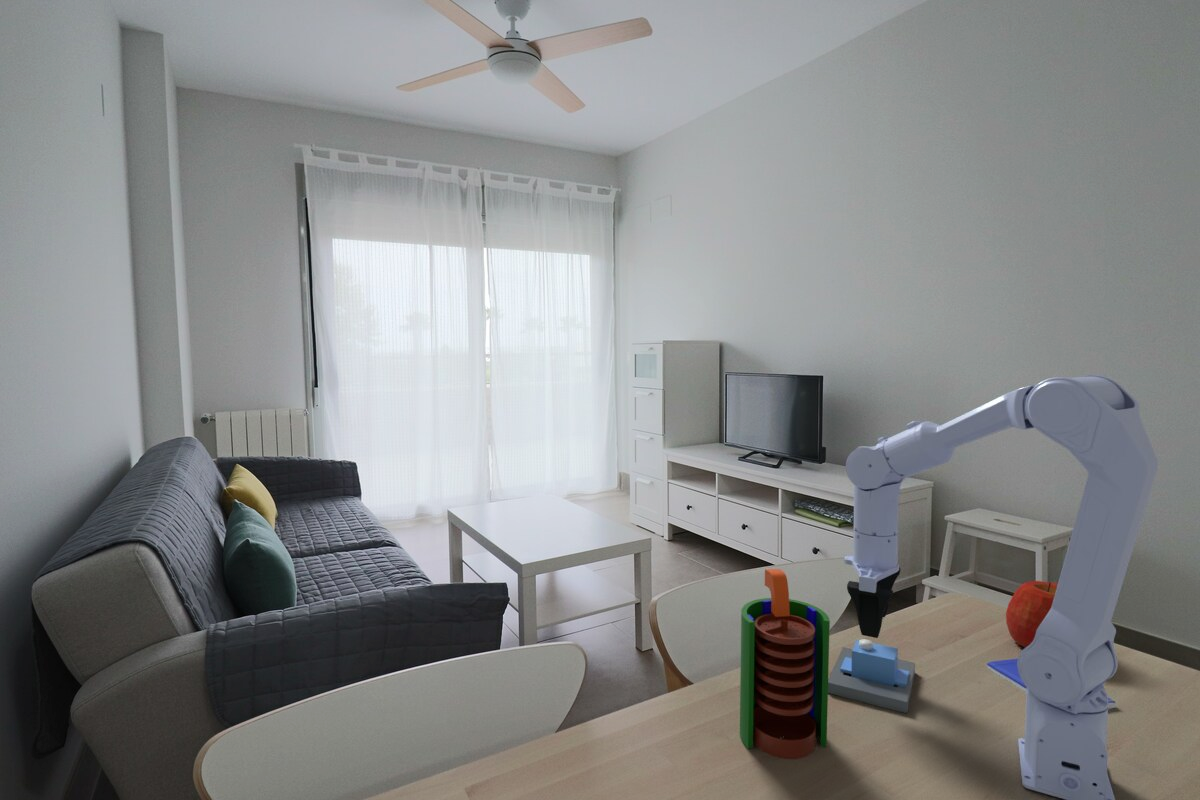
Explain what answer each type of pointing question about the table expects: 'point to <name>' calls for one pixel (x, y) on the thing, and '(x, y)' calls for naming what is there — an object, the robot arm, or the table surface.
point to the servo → (875, 664)
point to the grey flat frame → (871, 686)
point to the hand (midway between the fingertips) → (873, 625)
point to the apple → (1029, 610)
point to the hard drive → (1017, 674)
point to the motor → (783, 672)
